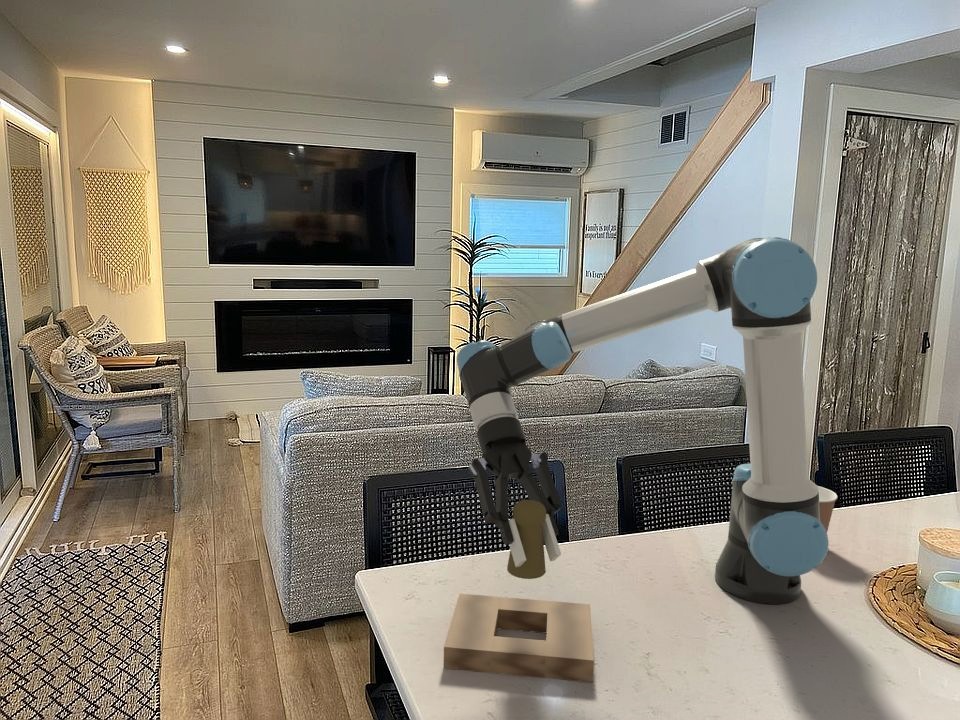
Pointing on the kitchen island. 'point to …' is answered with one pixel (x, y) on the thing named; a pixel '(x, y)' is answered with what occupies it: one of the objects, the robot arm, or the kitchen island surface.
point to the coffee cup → (826, 505)
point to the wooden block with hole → (486, 652)
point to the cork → (529, 539)
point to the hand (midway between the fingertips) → (538, 560)
